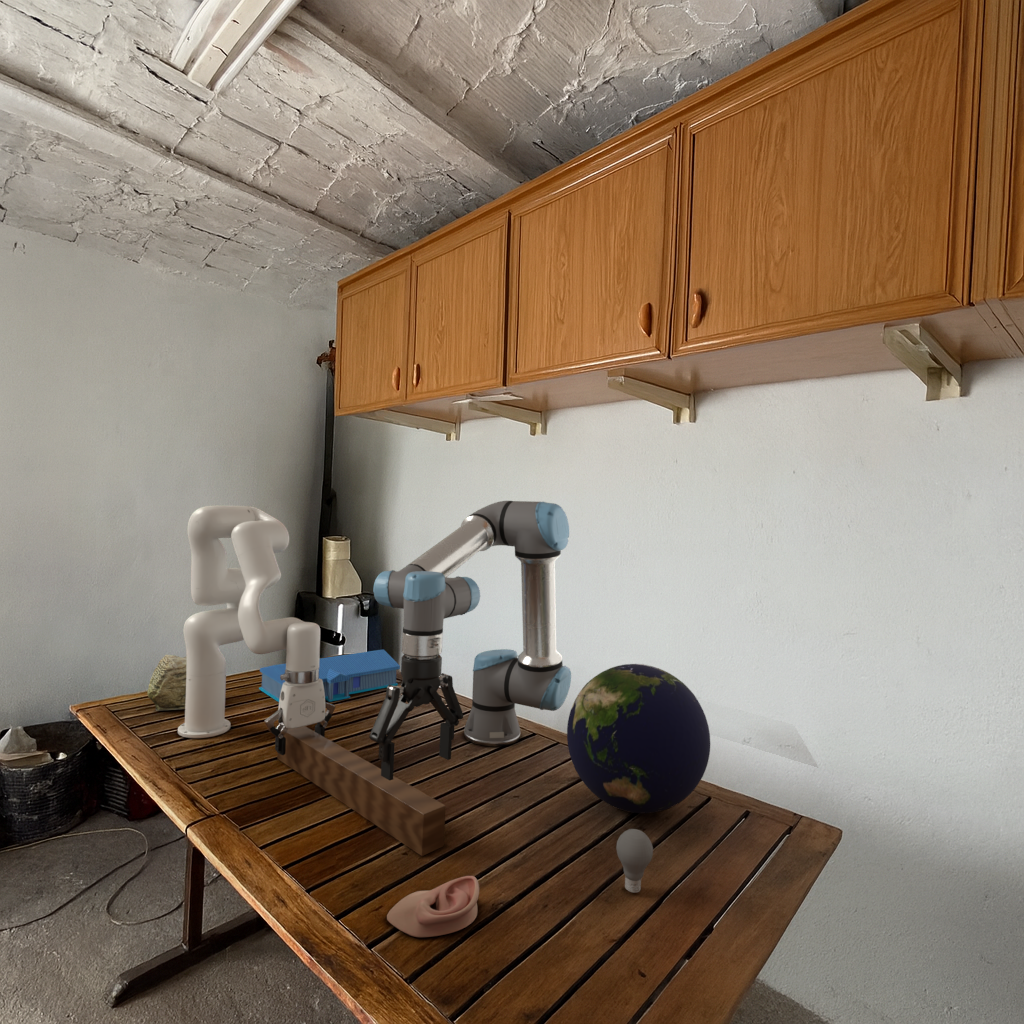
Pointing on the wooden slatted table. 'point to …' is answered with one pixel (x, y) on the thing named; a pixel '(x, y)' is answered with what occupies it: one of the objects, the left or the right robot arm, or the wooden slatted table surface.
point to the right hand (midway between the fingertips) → (417, 767)
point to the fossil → (169, 683)
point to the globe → (638, 738)
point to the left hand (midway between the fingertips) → (300, 747)
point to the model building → (341, 674)
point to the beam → (367, 790)
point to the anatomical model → (437, 909)
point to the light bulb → (634, 857)
